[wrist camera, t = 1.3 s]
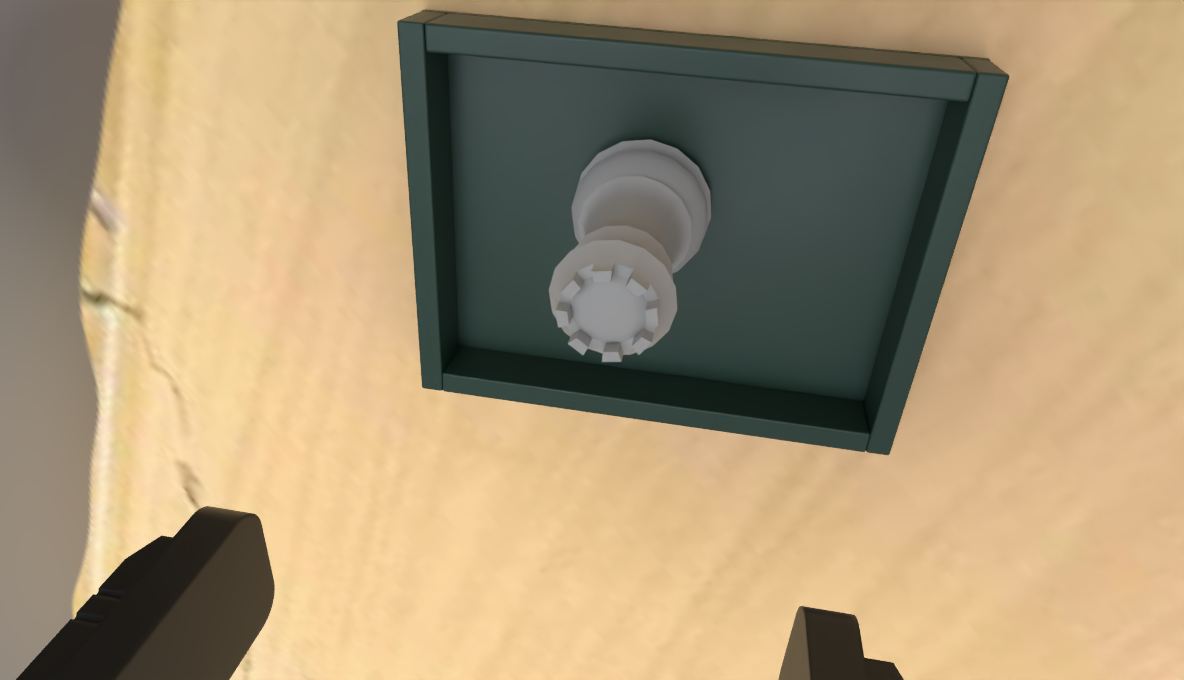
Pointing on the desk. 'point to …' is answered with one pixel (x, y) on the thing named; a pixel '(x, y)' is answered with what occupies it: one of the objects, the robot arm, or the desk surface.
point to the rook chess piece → (629, 247)
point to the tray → (735, 232)
